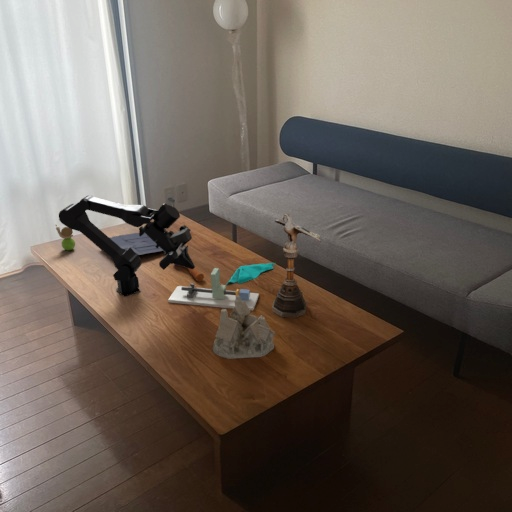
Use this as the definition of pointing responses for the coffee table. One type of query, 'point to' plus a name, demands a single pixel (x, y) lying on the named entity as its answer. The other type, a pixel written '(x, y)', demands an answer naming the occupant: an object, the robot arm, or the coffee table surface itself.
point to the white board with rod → (205, 297)
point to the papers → (136, 243)
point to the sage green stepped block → (217, 285)
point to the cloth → (249, 272)
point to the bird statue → (291, 274)
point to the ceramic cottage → (242, 334)
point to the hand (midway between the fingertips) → (194, 268)
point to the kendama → (195, 274)
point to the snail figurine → (66, 238)
